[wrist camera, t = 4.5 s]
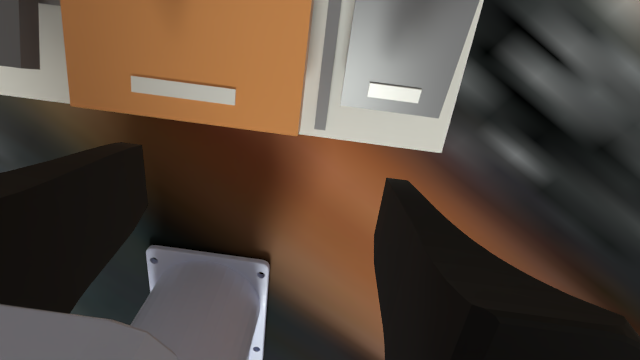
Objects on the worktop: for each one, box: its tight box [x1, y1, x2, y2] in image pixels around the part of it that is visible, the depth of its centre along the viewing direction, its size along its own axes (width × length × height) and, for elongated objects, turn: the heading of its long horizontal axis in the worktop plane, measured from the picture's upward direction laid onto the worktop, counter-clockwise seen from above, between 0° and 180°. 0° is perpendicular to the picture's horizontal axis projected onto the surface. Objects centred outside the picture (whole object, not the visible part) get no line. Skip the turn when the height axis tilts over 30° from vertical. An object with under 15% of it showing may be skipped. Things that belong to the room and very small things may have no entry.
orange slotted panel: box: [60, 0, 314, 136], centre depth 15 cm, size 8×9×1 cm
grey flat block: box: [340, 0, 480, 118], centre depth 15 cm, size 6×4×1 cm
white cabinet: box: [0, 0, 484, 153], centre depth 18 cm, size 10×22×4 cm, turn 84°
